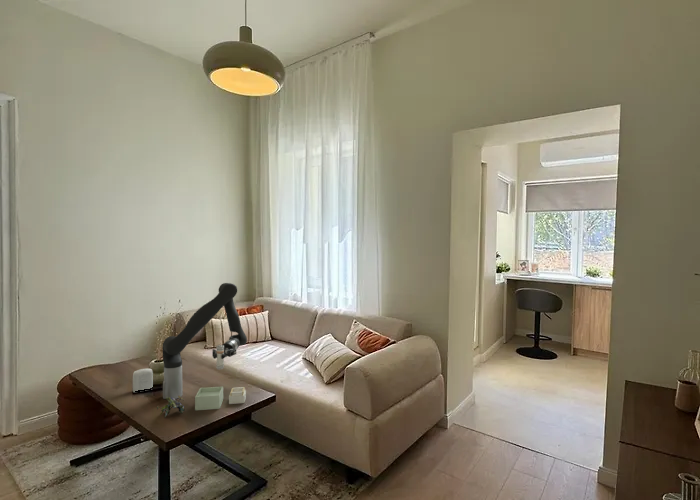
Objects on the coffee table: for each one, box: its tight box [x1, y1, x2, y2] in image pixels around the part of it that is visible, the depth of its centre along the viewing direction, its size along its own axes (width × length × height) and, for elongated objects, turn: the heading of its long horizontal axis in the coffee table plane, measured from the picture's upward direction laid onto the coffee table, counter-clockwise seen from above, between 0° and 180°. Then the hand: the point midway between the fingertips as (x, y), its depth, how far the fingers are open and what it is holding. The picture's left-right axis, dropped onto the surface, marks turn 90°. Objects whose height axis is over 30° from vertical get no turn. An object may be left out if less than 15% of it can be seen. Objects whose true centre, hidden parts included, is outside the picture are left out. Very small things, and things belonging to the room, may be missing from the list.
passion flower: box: [156, 396, 185, 418], centre depth 190 cm, size 11×11×12 cm
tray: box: [194, 386, 224, 411], centre depth 203 cm, size 12×12×7 cm
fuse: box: [215, 344, 225, 370], centre depth 204 cm, size 4×4×12 cm
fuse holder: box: [228, 386, 247, 405], centre depth 208 cm, size 8×8×6 cm
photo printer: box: [132, 368, 154, 393], centre depth 221 cm, size 10×4×12 cm, turn 123°
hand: (218, 356), depth 201 cm, fingers closed on fuse, 3 cm apart
